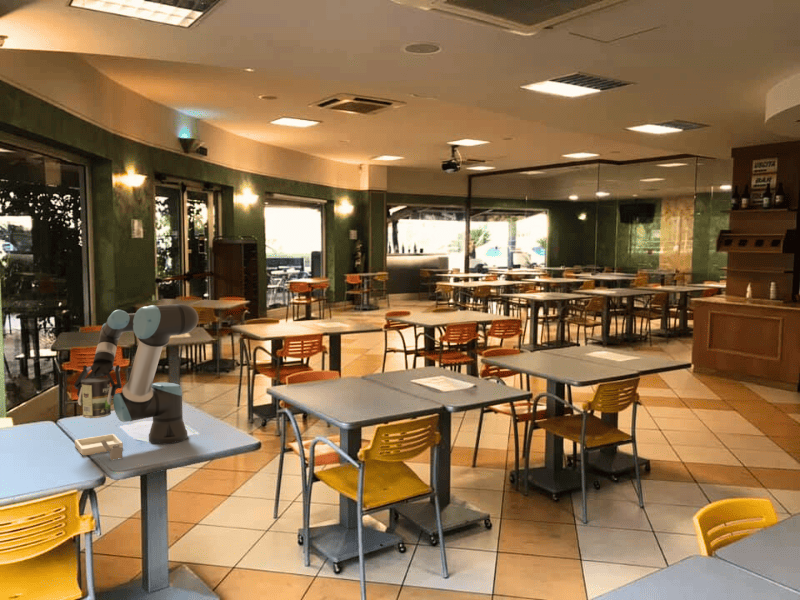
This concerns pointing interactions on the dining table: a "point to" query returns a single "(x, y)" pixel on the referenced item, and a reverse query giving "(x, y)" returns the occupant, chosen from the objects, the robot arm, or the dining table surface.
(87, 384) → the coffee can
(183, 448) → the dining table surface
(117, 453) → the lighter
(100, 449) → the pocket tray
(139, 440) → the dining table surface
